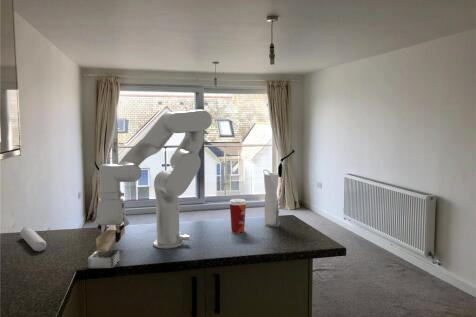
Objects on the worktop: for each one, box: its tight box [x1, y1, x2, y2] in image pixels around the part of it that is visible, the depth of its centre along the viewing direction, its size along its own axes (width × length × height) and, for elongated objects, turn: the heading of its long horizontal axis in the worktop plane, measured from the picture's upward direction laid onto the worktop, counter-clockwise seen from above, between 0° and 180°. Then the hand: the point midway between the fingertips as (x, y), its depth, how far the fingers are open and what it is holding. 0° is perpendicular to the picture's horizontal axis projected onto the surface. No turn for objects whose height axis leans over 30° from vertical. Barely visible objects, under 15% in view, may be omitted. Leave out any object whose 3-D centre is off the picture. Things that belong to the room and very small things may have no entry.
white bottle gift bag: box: [263, 169, 281, 228], centre depth 189 cm, size 8×8×28 cm
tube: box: [19, 226, 47, 253], centre depth 161 cm, size 5×5×25 cm
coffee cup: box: [228, 198, 247, 234], centre depth 179 cm, size 8×8×15 cm
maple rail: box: [95, 222, 126, 253], centre depth 148 cm, size 4×22×5 cm, turn 1°
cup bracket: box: [87, 250, 121, 269], centre depth 139 cm, size 9×8×4 cm
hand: (111, 240), depth 148 cm, fingers closed on maple rail, 4 cm apart
